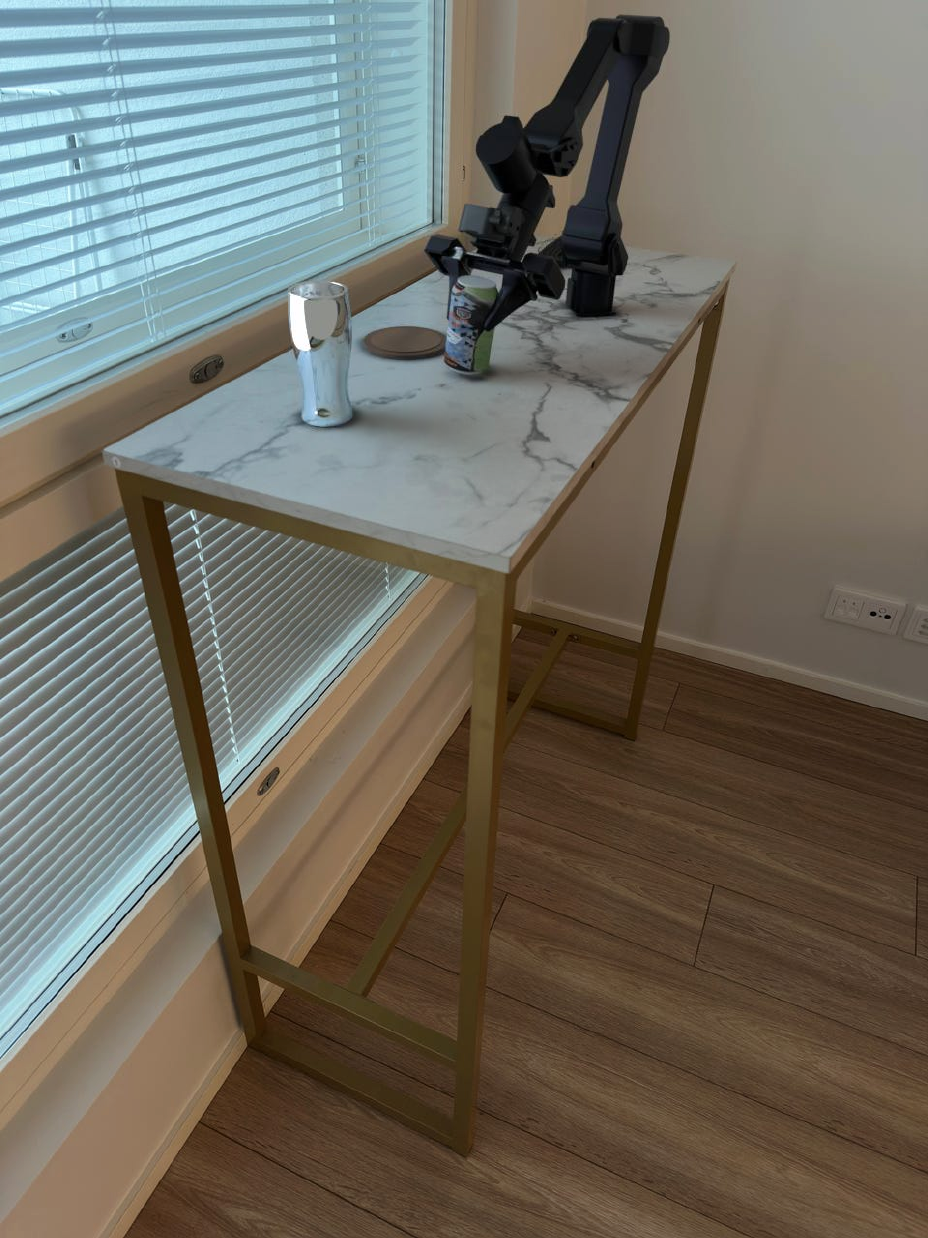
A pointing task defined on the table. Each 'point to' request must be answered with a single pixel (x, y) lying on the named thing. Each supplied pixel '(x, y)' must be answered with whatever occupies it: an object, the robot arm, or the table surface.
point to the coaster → (405, 342)
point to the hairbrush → (553, 250)
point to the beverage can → (470, 325)
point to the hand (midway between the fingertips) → (467, 325)
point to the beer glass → (322, 349)
